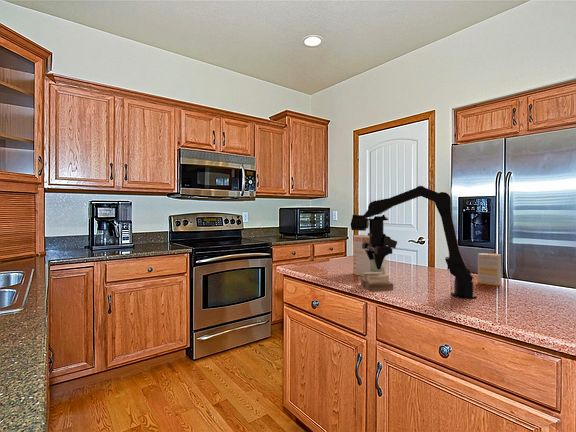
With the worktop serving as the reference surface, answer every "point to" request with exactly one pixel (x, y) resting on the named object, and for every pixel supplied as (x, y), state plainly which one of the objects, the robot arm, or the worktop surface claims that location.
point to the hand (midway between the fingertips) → (376, 268)
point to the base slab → (377, 286)
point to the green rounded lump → (373, 266)
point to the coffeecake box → (362, 256)
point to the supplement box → (489, 269)
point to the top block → (375, 277)
